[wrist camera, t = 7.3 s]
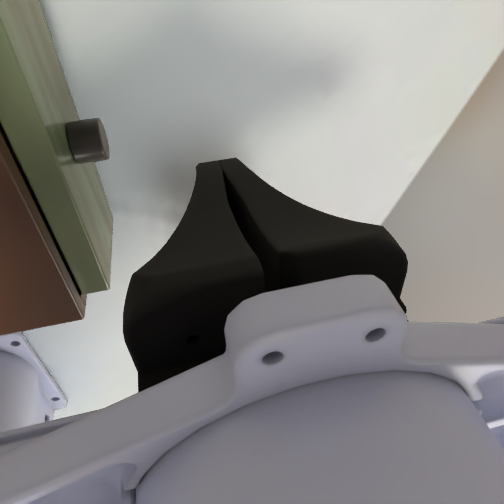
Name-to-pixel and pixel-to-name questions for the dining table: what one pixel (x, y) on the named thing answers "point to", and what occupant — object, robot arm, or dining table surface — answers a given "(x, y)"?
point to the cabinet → (30, 261)
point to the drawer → (54, 144)
